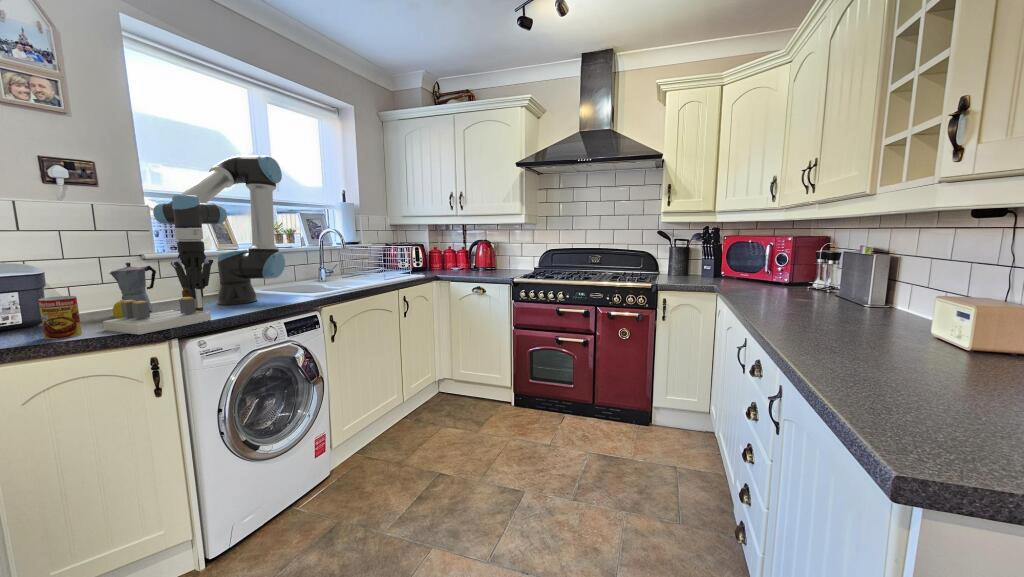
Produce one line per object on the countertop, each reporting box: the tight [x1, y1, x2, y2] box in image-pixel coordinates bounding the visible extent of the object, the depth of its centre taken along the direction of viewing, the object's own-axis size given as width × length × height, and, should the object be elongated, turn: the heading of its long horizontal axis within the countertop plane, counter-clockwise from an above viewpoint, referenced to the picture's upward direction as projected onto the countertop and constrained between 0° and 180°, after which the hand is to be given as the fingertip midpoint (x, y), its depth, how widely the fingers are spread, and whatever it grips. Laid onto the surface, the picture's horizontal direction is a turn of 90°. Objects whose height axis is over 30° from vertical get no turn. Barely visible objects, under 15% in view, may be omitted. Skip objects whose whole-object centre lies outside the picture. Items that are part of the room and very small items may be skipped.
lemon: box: [112, 299, 125, 319], centre depth 147 cm, size 6×6×8 cm
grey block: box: [178, 297, 196, 314], centre depth 145 cm, size 3×3×6 cm
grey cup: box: [132, 301, 151, 319], centre depth 137 cm, size 3×3×6 cm
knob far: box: [121, 300, 136, 318], centre depth 139 cm, size 3×3×6 cm
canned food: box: [37, 295, 83, 340], centre depth 127 cm, size 8×8×12 cm
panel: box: [103, 308, 212, 336], centre depth 142 cm, size 22×18×3 cm
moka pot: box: [108, 262, 157, 312], centre depth 165 cm, size 10×15×20 cm, turn 166°
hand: (197, 307), depth 148 cm, fingers closed
